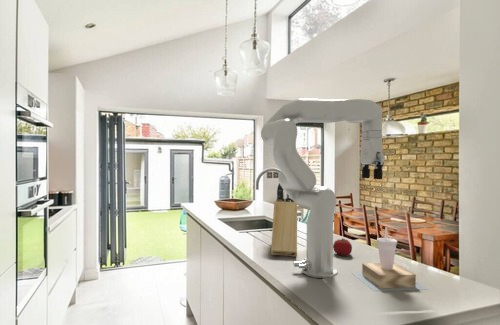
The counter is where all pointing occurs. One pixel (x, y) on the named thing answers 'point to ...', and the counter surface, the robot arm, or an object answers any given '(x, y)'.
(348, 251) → the tomato
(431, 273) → the counter surface
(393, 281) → the oak riser
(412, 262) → the counter surface
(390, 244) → the smoothie
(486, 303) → the counter surface
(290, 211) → the knife block
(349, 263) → the counter surface
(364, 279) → the base board
